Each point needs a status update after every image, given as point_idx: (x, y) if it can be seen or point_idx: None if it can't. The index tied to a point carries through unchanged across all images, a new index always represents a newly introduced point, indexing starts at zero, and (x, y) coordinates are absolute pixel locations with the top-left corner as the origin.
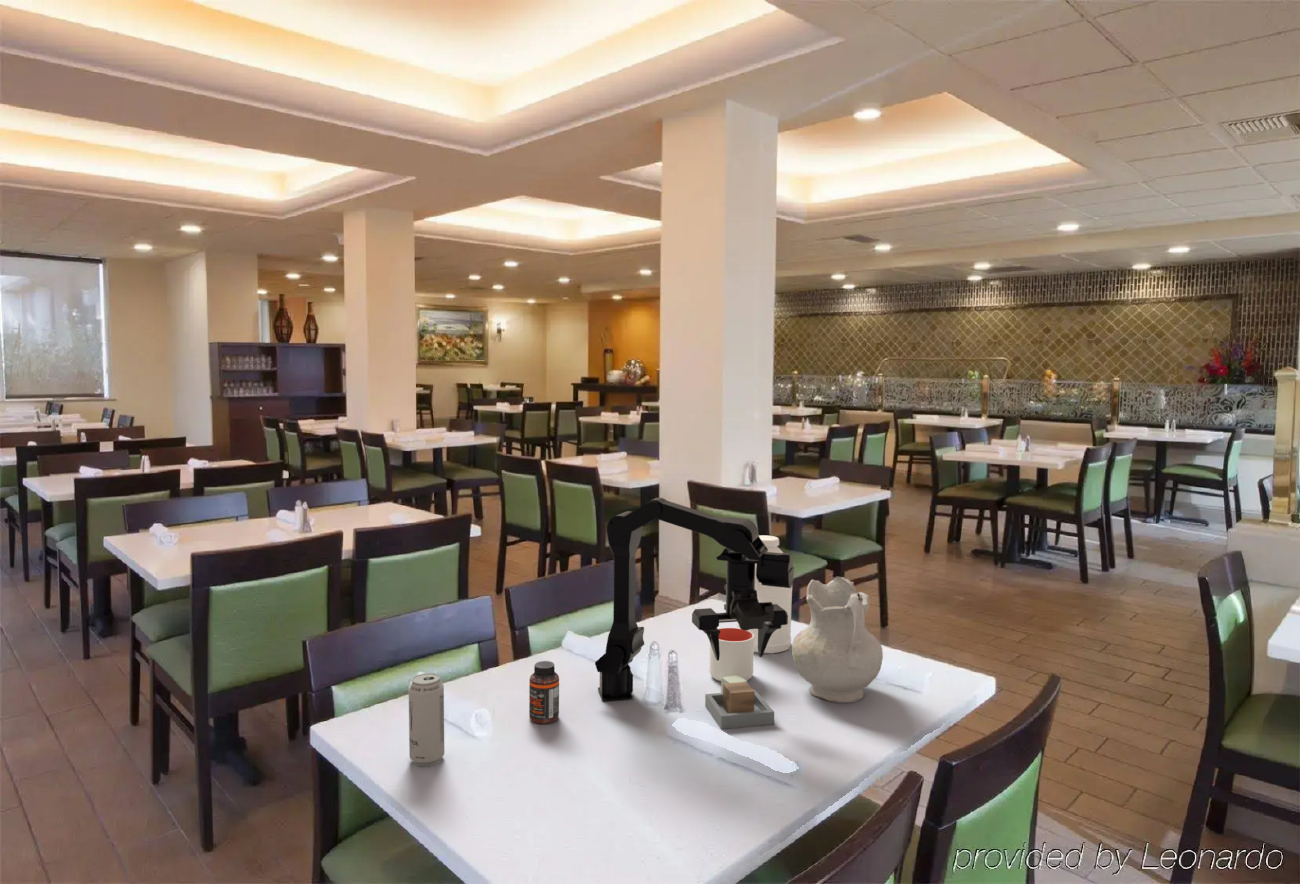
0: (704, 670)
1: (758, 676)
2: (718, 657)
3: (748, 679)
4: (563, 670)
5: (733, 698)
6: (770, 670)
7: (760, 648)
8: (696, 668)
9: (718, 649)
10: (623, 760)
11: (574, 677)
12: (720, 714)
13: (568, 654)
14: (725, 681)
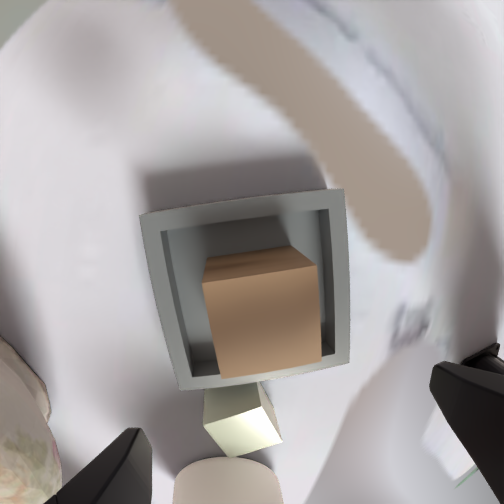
0: None
1: (162, 476)
2: (451, 368)
3: (188, 465)
4: None
5: (297, 261)
6: None
7: (128, 474)
8: (292, 497)
9: (493, 387)
10: (500, 96)
11: None
12: (343, 204)
13: (454, 475)
14: (274, 426)
